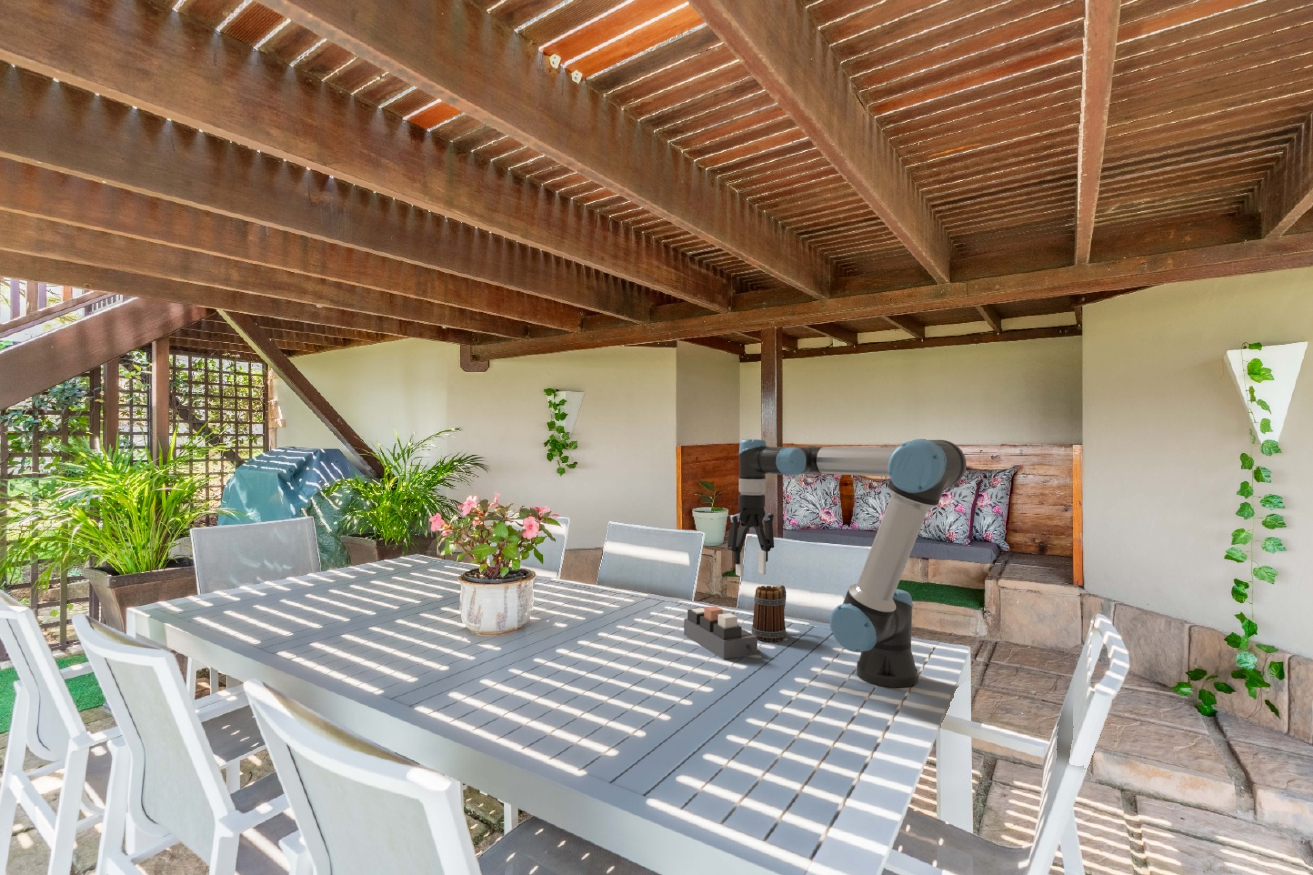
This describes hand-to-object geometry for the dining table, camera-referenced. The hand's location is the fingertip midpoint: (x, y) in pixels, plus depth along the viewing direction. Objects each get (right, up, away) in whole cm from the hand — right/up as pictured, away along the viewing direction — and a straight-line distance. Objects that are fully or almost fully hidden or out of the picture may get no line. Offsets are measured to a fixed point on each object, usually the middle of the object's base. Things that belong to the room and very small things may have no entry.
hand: (750, 574), depth 185 cm
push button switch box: (-7, -23, +7) cm, 25 cm away
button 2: (-10, -15, +9) cm, 20 cm away
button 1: (-6, -15, +2) cm, 17 cm away
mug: (+10, -23, +19) cm, 32 cm away
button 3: (-13, -17, +16) cm, 27 cm away
